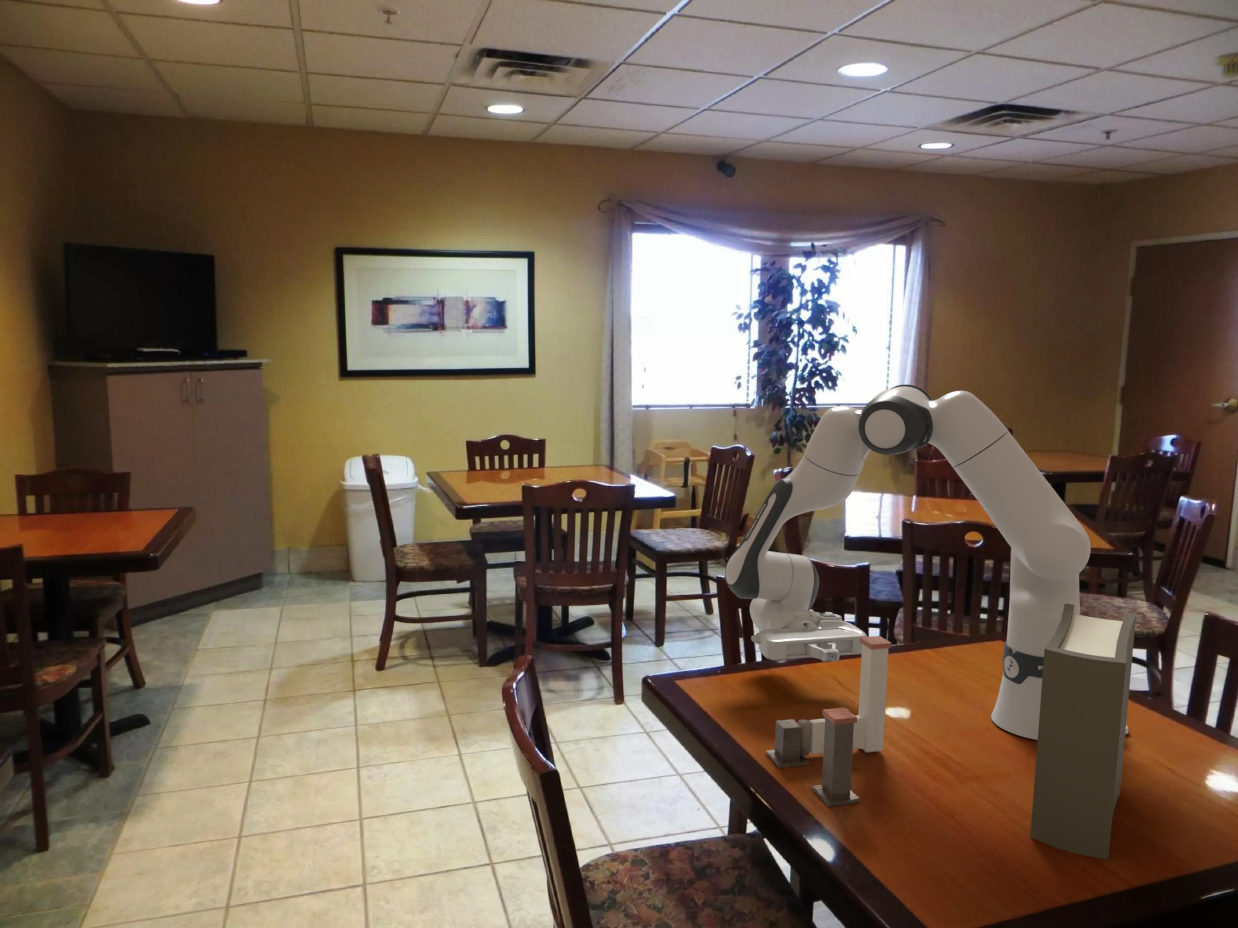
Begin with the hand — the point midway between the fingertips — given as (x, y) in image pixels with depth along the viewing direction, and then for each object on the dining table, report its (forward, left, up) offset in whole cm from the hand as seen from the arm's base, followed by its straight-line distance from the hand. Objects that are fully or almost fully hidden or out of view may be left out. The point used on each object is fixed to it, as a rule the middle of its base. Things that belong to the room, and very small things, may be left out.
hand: (832, 656), depth 157 cm
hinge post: (+15, +14, -11) cm, 23 cm away
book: (-18, +39, -11) cm, 45 cm away
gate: (+5, +14, -11) cm, 18 cm away
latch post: (+13, +26, -11) cm, 31 cm away
